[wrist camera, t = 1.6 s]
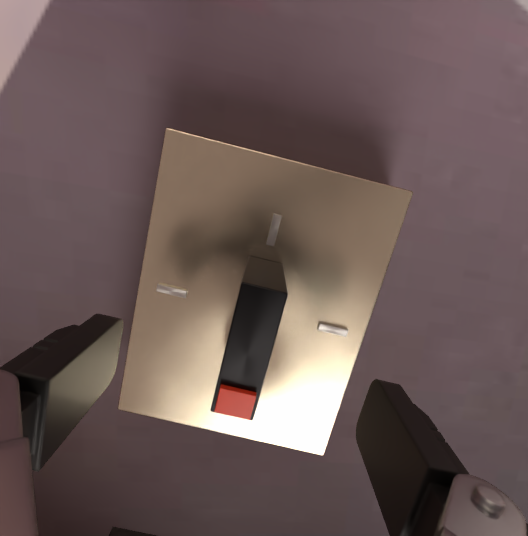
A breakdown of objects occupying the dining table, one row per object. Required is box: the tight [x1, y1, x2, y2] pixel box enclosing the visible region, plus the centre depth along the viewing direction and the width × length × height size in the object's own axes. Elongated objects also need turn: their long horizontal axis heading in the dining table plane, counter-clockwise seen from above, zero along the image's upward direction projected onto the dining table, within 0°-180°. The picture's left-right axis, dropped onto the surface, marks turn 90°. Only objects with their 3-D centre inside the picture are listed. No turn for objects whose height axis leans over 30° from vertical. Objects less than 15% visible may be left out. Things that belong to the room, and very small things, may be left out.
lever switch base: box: [118, 128, 413, 455], centre depth 18 cm, size 14×11×3 cm
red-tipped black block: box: [210, 256, 288, 421], centre depth 14 cm, size 5×2×5 cm, turn 166°
